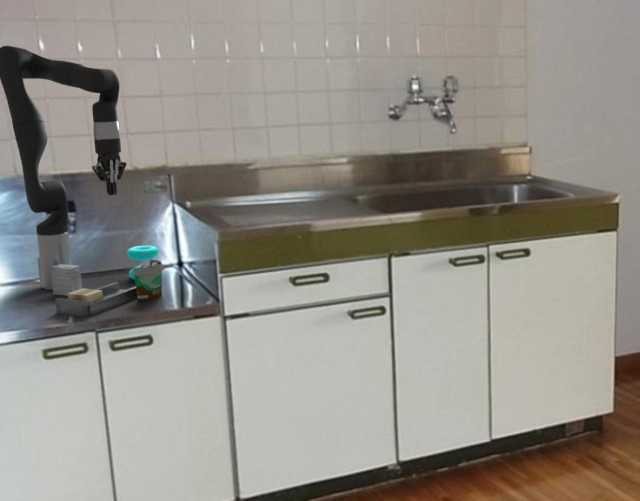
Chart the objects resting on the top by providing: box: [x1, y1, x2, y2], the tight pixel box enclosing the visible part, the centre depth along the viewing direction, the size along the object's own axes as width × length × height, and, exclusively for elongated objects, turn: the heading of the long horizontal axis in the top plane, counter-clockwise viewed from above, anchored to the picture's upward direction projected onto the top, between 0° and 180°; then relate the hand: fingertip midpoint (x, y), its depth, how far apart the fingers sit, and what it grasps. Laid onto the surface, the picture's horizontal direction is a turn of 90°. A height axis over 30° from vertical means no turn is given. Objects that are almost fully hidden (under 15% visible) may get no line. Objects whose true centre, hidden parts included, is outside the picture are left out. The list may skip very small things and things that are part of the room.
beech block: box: [67, 287, 103, 303], centre depth 206 cm, size 7×6×4 cm
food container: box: [133, 259, 165, 302], centre depth 217 cm, size 12×6×10 cm, turn 168°
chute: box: [55, 281, 138, 318], centre depth 212 cm, size 11×24×4 cm, turn 154°
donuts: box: [126, 244, 159, 281], centre depth 241 cm, size 10×10×10 cm
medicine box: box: [51, 264, 83, 297], centre depth 223 cm, size 8×4×9 cm, turn 65°
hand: (112, 194), depth 225 cm, fingers closed
